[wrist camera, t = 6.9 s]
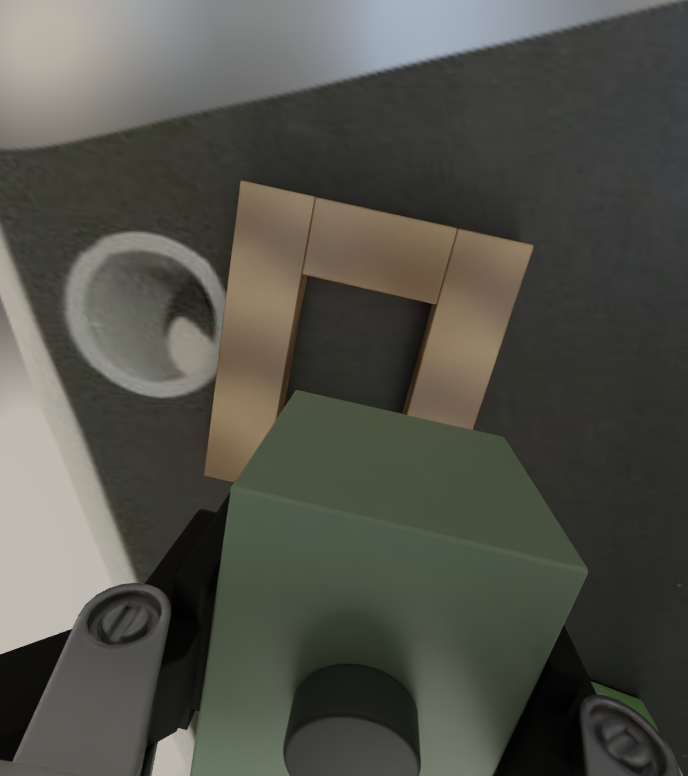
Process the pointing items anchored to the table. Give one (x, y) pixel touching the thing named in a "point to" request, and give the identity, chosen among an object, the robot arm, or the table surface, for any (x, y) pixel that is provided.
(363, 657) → the green knobbed block
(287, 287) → the wooden frame
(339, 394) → the table surface
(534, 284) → the table surface
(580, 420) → the table surface
